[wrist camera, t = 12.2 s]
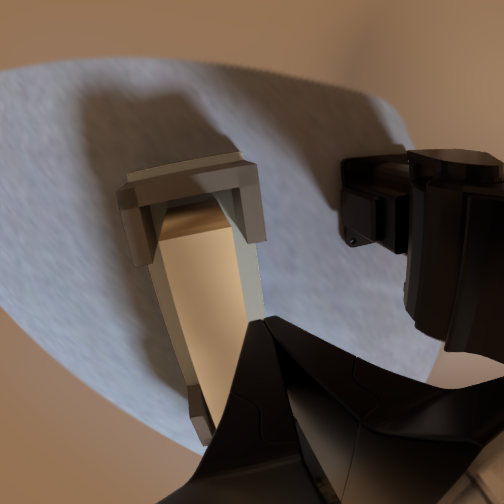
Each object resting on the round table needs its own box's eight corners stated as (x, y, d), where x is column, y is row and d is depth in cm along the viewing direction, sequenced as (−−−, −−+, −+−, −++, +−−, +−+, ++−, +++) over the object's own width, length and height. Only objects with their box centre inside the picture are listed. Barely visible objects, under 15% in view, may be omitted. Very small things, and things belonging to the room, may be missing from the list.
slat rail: (239, 151, 19) (255, 154, 15) (274, 395, 26) (288, 430, 22) (129, 172, 18) (113, 181, 14) (199, 411, 25) (204, 449, 21)
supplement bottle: (279, 457, 31) (309, 539, 20) (245, 439, 28) (273, 536, 17) (328, 429, 31) (370, 510, 20) (299, 406, 28) (346, 504, 17)
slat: (216, 198, 18) (231, 226, 13) (251, 390, 24) (270, 450, 18) (167, 208, 18) (158, 241, 12) (216, 397, 24) (228, 459, 18)
